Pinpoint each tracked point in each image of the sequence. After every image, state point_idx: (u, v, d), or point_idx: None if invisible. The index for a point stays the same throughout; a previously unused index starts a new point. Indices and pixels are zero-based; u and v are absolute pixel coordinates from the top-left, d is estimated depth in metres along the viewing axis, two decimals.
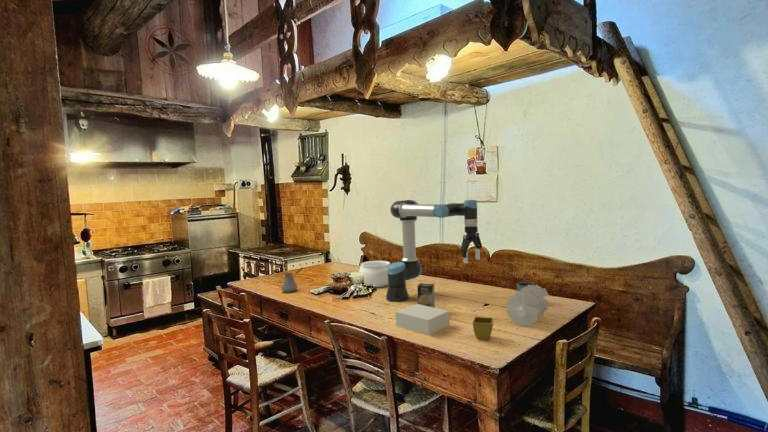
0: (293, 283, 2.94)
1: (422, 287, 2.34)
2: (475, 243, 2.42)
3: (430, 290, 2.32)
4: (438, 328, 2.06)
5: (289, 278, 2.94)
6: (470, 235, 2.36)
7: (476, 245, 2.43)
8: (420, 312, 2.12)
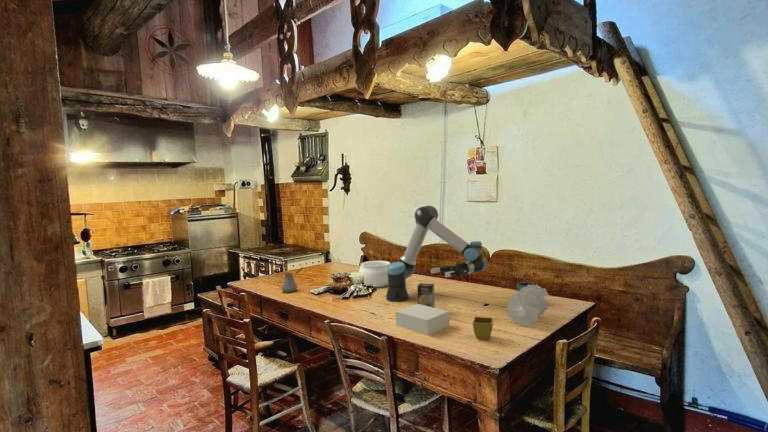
0: (293, 283, 2.94)
1: (422, 287, 2.34)
2: (446, 269, 2.50)
3: (430, 290, 2.32)
4: (437, 328, 2.05)
5: (289, 278, 2.94)
6: None
7: (443, 269, 2.50)
8: (420, 312, 2.12)
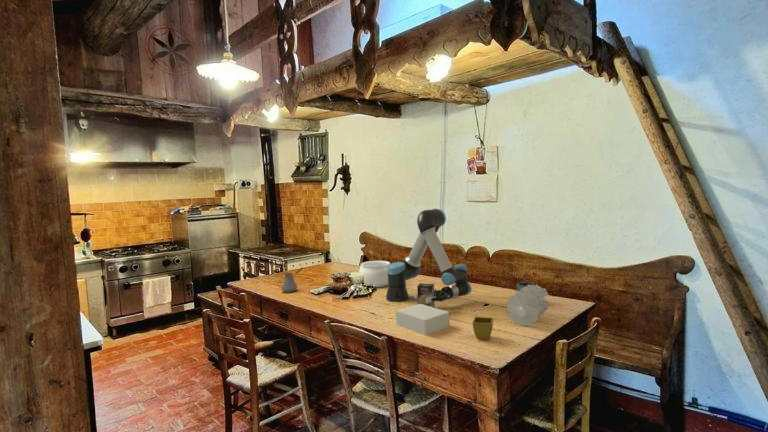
0: (293, 283, 2.94)
1: (422, 287, 2.34)
2: None
3: (430, 290, 2.32)
4: (436, 329, 2.05)
5: (289, 278, 2.94)
6: None
7: None
8: (420, 312, 2.12)
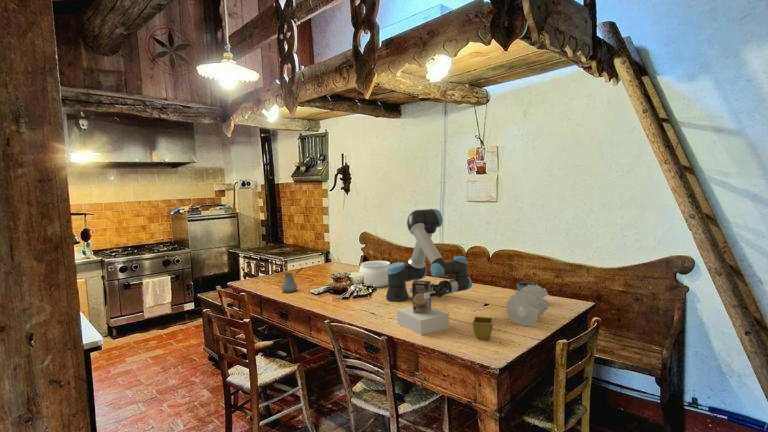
0: (293, 283, 2.94)
1: (417, 285, 2.09)
2: None
3: (426, 288, 2.08)
4: (434, 330, 2.04)
5: (289, 278, 2.94)
6: None
7: None
8: None
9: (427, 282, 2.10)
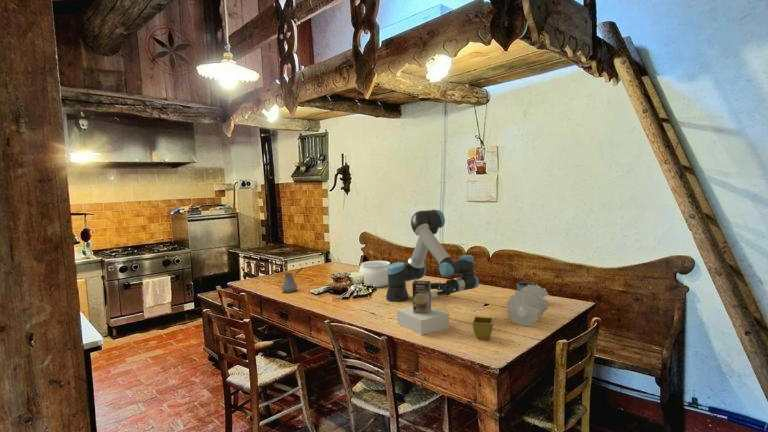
0: (293, 283, 2.94)
1: (418, 285, 2.09)
2: (433, 287, 2.22)
3: (427, 288, 2.08)
4: (434, 330, 2.04)
5: (289, 278, 2.94)
6: None
7: None
8: None
9: (427, 282, 2.11)
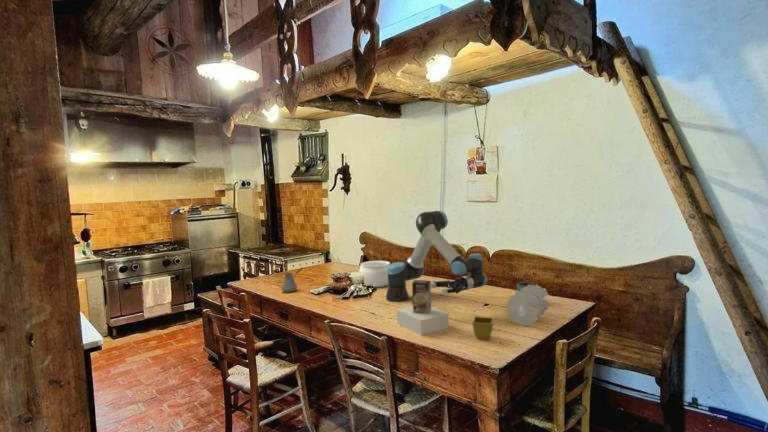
0: (293, 283, 2.94)
1: (417, 284, 2.10)
2: (443, 285, 2.26)
3: (426, 287, 2.09)
4: (434, 330, 2.04)
5: (289, 278, 2.94)
6: None
7: (440, 285, 2.26)
8: None
9: (427, 282, 2.11)
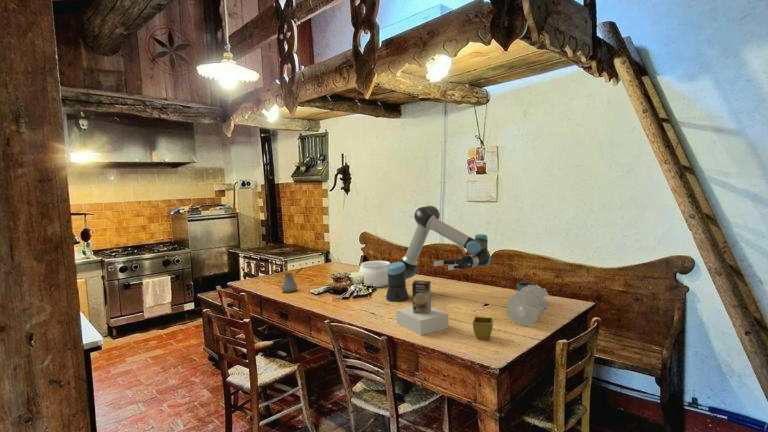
0: (293, 283, 2.94)
1: (417, 285, 2.09)
2: (450, 262, 2.43)
3: (426, 288, 2.08)
4: (433, 330, 2.04)
5: (289, 278, 2.94)
6: None
7: (447, 262, 2.43)
8: None
9: (427, 282, 2.11)
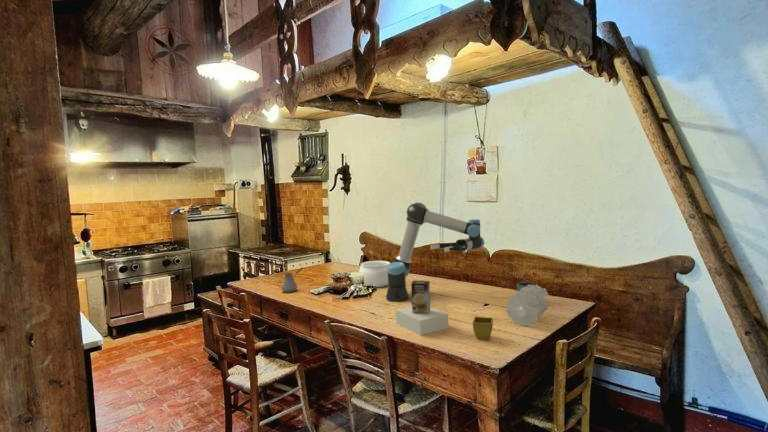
0: (293, 283, 2.94)
1: (416, 285, 2.09)
2: (445, 246, 2.58)
3: (425, 288, 2.08)
4: (433, 330, 2.04)
5: (289, 278, 2.94)
6: None
7: (443, 246, 2.58)
8: None
9: (426, 282, 2.10)
